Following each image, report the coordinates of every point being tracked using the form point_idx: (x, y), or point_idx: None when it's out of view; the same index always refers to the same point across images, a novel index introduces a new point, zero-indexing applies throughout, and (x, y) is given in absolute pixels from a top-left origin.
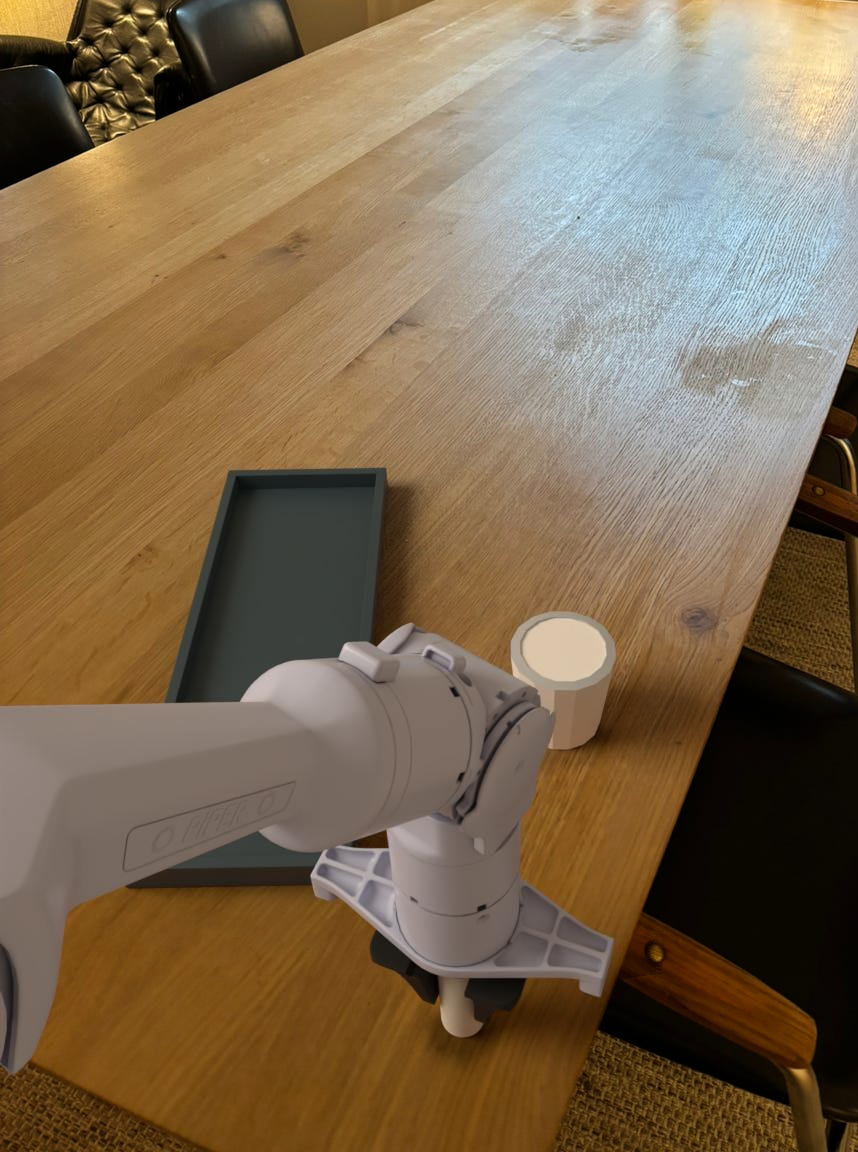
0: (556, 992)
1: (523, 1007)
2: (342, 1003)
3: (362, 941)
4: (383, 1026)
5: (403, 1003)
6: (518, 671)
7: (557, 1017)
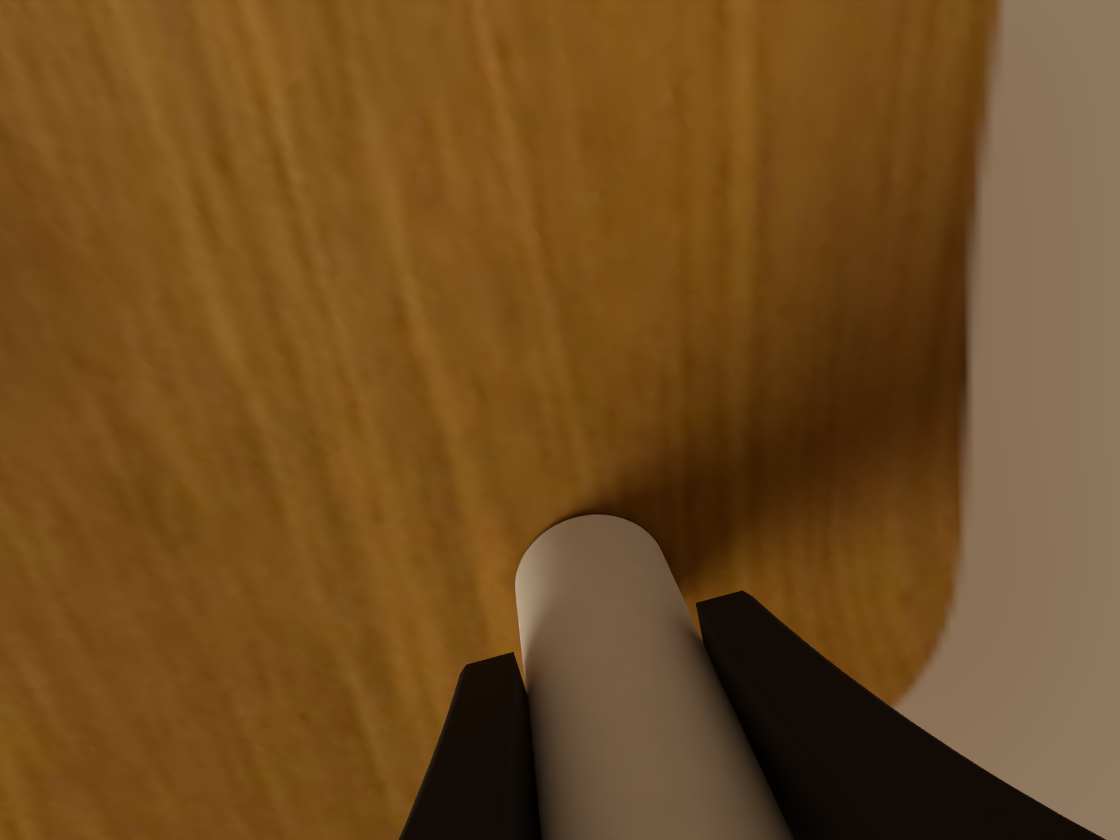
0: (842, 337)
1: (757, 447)
2: (234, 761)
3: (107, 596)
4: (395, 735)
5: (398, 658)
6: None
7: (877, 409)
